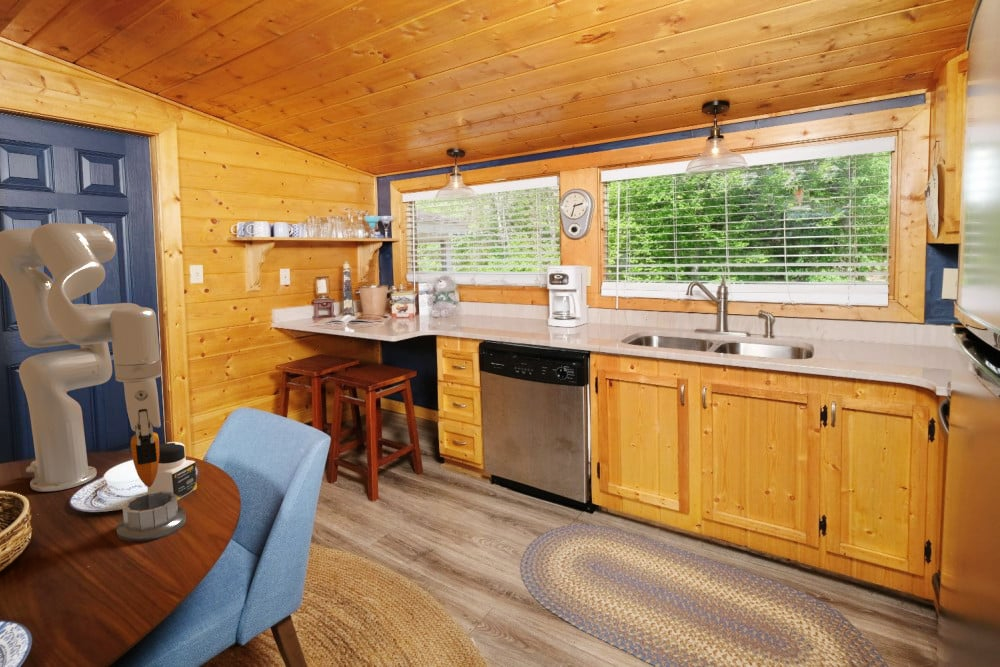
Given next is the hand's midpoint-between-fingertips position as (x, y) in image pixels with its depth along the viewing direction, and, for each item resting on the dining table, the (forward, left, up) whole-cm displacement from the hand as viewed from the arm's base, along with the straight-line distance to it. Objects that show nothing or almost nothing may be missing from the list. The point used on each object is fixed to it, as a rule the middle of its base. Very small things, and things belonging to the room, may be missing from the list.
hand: (146, 457), depth 110 cm
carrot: (0, 0, -7) cm, 7 cm away
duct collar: (0, 0, -15) cm, 15 cm away
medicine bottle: (-6, +14, -15) cm, 22 cm away
